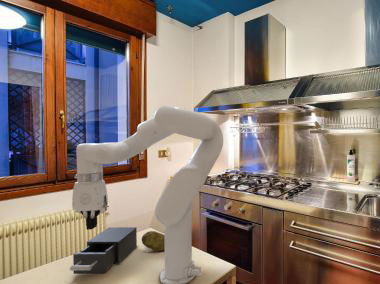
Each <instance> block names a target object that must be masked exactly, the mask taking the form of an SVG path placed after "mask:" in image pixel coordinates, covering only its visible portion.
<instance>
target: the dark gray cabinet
mask: <svg viewBox="0 0 380 284" xmlns="http://www.w3.org/2000/svg"><path fill="white" fill-rule="evenodd" d="M137 233H138V231H137V227H136V226H135V227H132V226H131V227H121V226H119V227H117V226H116V227H107V228H106V229H104V230H102V231H101V232H100V233H98V234H97V235H95V236H93V237H92V238H91V239H89V240H86V247H87V246H89V245H90V244H117V260H116V261H115V262H114V263H113V264H112V265H120V264H121V263H122V262H123V261H124V260H125V259H126V258H127V257H128V256H129V255H130V254H132V253H133V251H134V250H136V248H138V247H137V245H138V244H137V243H138V242H137V241H138V240H137V239H138V238H137V235H138V234H137Z"/></svg>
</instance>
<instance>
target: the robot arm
mask: <svg viewBox="0 0 380 284" xmlns="http://www.w3.org/2000/svg"><path fill="white" fill-rule="evenodd" d="M174 134H177V135H180V136H185V137H188V138H191V139H195V140H200V141H199V143H198V146H197V147H196V149H194V151H193V154H192V156H191V157H190V158H189V160H188V162H187V163H186V164H185V165H184V166H182V167H181V168H179V169H178V170H177V171H176V172H175V173H174V174H173V175H172V176H171V179H170V180H169V182H168V184H167V185H166V187H165V188H164V190H163V192H162V194H161V195H160V197H159V199H158V200H157V202H156V204H155V208H154V215H155V218H156V220H157V222H159V223H160V224H161V225H164V234H163V235H164V245H165V250H164V269H163V270H162V271H161V272H160V274H159V280H160V283H162V284H187V283H189V282H190V281H192V280H194V278H195V277H200V276H201V275H202V267H201V266H200V265H195V260H193V242H192V241H193V212H194V211H193V209H194V199H195V198H196V196H197V195H198V193H199V192H200V191H201V189H202V188H203V186H204V185H205V183H206V181H207V178H208V176H209V174H210V173H211V171H212V170H213V167H214V166H215V164H216V162H217V161H218V158H219V156H220V154H221V153H222V149H223V146H224V133H223V131H222V129H221V127H220V125H219V123H218V122H217V121H216V120H215V118H212V117H211V116H209V115H208V114H205V113H202V112H197V111H193V110H190V109H185V108H182V107H178V106H175V105H172V104H164V105H161V106H159V107H158V108H157V109H156V110H155V111H154V115H153V117H151V118H149V119H147V120H144V121H143V122H141V123H139V124H138V126H137V128H136V132H134V134H133V135H130V136H129V137H127V138H125V139H123V140H121V141H116V142H115V141H114V142H100V143H92V142H91V143H79V144H78V145H77V146H76V148H75V149H76V151H75V152H76V174H75V175H74V177H73V178H74V179H76V182H74V185H73V189H72V196H71V197H72V198H71V203H72V204H71V207H72V210H73V211H74V213H76V214H77V213H78V214H81V215H82V216H83V219H84V220H85V227H86V230H87V231H88V230H91V231H92V230H93V229H95V228H97V227H98V216H99V215H100V214H102V213H105V212H107V211H108V207H107V206H108V203H109V198H108V189H107V185H106V181H105V180H104V169H103V165H110V164H111V165H112V164H117V163H122V162H125V161H128V160H130V159H131V158H134V157H135V156H138V155H139V154H141V153H142V152H145V151H146V150H147V149H149V148H150V147H151V146H153V145H155V144H157V143H159V142H161V141H162V140H164V139H166V138H168V137H170V136H172V135H174Z"/></svg>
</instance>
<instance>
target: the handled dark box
mask: <svg viewBox="0 0 380 284" xmlns="http://www.w3.org/2000/svg"><path fill="white" fill-rule="evenodd" d="M72 257H73V259H72V262H73V264H71V266H70V267H69V271H73V274H74V275H105V274H107V273H108V269H109V268H110V267H111V266H112V265H114V264H113V263H114V262H115V261H116V260H117V244H90V245H89V246H87V245H86V247H84V248H83V249H81V250H80V252H74V253H73V254H72Z"/></svg>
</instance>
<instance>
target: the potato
mask: <svg viewBox="0 0 380 284" xmlns="http://www.w3.org/2000/svg"><path fill="white" fill-rule="evenodd" d="M164 235H165V234H164V233H162V232H158V231H155V230H149V231H147V232H145V233H143V235H142V237H141V242H142V244H143V246H144V247H146V248H147V249H150V250H152V251H154V252H161V251H165V245H164Z"/></svg>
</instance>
